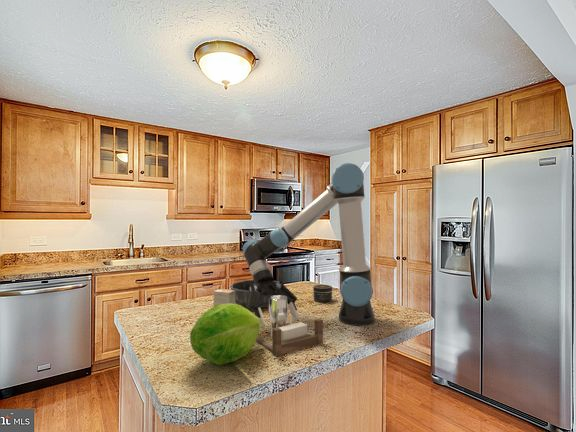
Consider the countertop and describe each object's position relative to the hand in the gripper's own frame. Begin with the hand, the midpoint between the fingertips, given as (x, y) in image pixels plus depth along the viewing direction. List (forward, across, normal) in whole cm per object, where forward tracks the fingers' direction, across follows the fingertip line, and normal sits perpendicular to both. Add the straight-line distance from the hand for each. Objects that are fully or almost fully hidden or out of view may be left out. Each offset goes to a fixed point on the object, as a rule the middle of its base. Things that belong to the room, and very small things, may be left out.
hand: (280, 322), depth 112 cm
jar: (-20, -46, -29) cm, 58 cm away
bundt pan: (-29, -14, -38) cm, 50 cm away
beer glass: (+3, 0, -6) cm, 7 cm away
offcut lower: (+9, 0, +2) cm, 9 cm away
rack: (+6, 0, -3) cm, 6 cm away
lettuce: (+8, +21, -1) cm, 23 cm away
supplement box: (-17, +10, -26) cm, 33 cm away
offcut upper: (+7, 0, +4) cm, 8 cm away
